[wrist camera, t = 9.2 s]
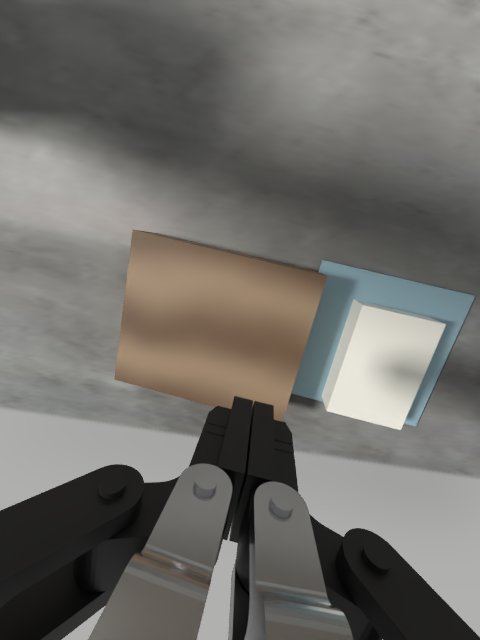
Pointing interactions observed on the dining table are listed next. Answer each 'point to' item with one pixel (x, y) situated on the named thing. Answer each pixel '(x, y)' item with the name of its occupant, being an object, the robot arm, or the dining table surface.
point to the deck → (214, 322)
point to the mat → (383, 292)
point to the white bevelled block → (380, 363)
